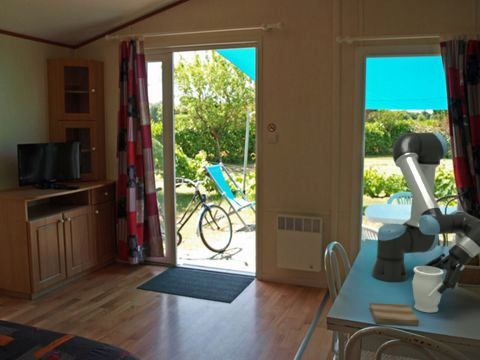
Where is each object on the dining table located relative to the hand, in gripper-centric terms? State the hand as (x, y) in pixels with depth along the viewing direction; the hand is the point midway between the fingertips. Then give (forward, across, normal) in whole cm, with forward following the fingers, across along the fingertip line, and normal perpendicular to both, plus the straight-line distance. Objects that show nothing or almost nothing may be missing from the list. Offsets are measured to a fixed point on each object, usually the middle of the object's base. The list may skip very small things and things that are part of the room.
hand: (422, 291), depth 173 cm
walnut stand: (+14, -6, +5) cm, 16 cm away
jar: (+4, 0, -6) cm, 7 cm away
